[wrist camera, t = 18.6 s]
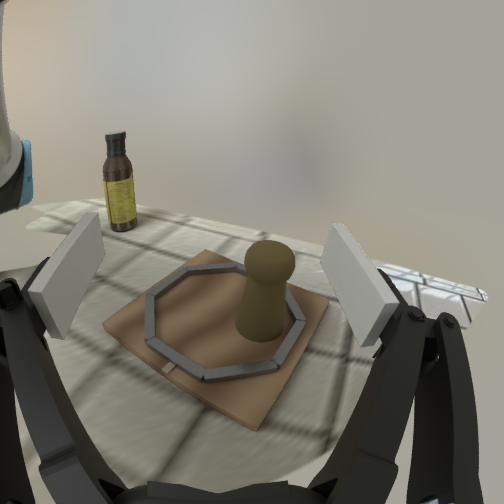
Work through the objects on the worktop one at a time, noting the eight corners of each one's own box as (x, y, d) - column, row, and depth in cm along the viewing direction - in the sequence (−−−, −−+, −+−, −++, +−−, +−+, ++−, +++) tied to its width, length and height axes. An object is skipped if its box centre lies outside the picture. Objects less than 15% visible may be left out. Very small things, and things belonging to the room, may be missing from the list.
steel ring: (115, 322, 30) (113, 316, 29) (207, 255, 45) (207, 249, 44) (252, 411, 23) (253, 407, 22) (319, 301, 37) (320, 295, 37)
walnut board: (104, 329, 30) (101, 321, 29) (205, 255, 47) (205, 248, 46) (256, 431, 22) (257, 427, 21) (327, 305, 39) (330, 298, 38)
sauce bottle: (143, 223, 54) (139, 129, 44) (121, 235, 49) (113, 135, 39) (124, 216, 56) (119, 129, 46) (103, 227, 52) (94, 134, 41)
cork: (292, 320, 34) (311, 246, 28) (267, 350, 29) (284, 273, 24) (252, 300, 36) (262, 227, 31) (224, 326, 32) (229, 248, 26)
